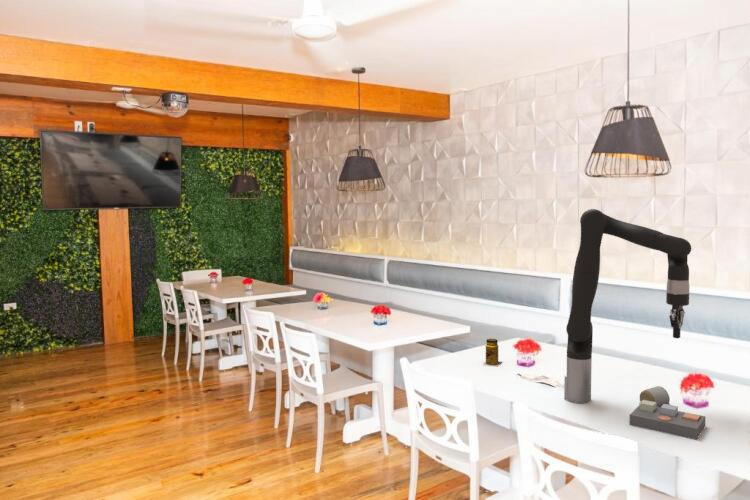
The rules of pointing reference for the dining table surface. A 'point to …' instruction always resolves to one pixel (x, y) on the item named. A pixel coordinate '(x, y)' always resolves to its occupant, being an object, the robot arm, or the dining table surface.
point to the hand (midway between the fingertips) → (676, 337)
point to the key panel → (667, 423)
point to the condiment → (492, 353)
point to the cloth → (542, 380)
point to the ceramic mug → (655, 396)
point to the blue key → (669, 410)
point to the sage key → (647, 406)
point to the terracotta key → (691, 417)
